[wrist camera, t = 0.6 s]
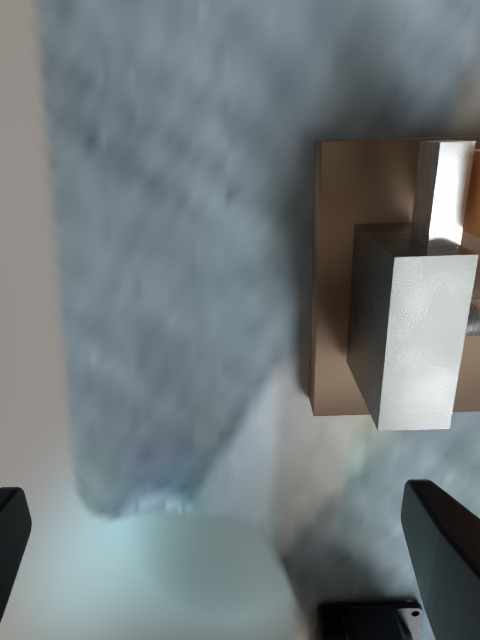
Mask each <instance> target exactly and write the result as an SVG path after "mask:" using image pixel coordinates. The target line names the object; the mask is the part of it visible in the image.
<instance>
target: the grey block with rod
mask: <svg viewBox="0 0 480 640" xmlns="http://www.w3.org/2000/svg"><path fill="white" fill-rule="evenodd" d="M475 143H476V141H463V140H438V141H420V148H419V158H418V167H417V176H416V186H415V195H414V204H413V214H412V222H402V223H374V224H355V225H354V242H353V258H352V275H351V292H350V308H349V325H348V342H347V358H346V362H347V364H348V366H349V369H350V371H351V373H352V375H353V377H354V380H355V382H356V384H357V386H358V388H359V390H360V393H361V395H362V397H363V399H364V401H365V404H366V406H367V408H368V410H369V412H370V415H371V417H372V419H373V421H374V423H375V426H376V428H377V430H378V431H390V430H424V429H450V423H451V417H452V411H453V405H454V399H455V393H456V387H457V381H458V375H459V369H460V363H461V357H462V351H463V345H464V339H465V336H480V297H472V292H473V286H474V280H475V274H476V268H477V262H478V256H479V254H477V253H475V252H473V251H471V250H469V249H467V248H465V247H464V246H462V245H460V243H461V236H462V229H463V223H464V216H465V210H466V203H467V196H468V190H469V183H470V176H471V170H472V163H473V156H474V150H475Z"/></svg>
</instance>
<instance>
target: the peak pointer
mask: <svg viewBox="0 0 480 640" xmlns="http://www.w3.org/2000/svg"><path fill="white" fill-rule="evenodd" d="M462 231H464V232H466V233H469V234H471V235H473V236H475V237H477V238H480V149H475V150H474V156H473V163H472V170H471V176H470V183H469V190H468V196H467V203H466V210H465V216H464V223H463V229H462Z"/></svg>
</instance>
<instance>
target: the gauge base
mask: <svg viewBox="0 0 480 640" xmlns="http://www.w3.org/2000/svg"><path fill="white" fill-rule="evenodd" d="M438 140H463V141H476V143H475V149H480V135H471V136H445V137H419V138H392V139H366V140H340V141H316V163H315V202H314V240H313V278H312V317H311V355H310V394H309V399H310V403H311V407H312V411H313V415H314V416H335V415H369V414H370V412H369V410H368V408H367V406H366V404H365V401H364V399H363V397H362V395H361V393H360V390H359V388H358V386H357V384H356V382H355V380H354V377H353V375H352V373H351V371H350V369H349V366H348V364H347V362H346V358H347V342H348V325H349V308H350V292H351V275H352V258H353V242H354V225H355V224H374V223H402V222H412V214H413V204H414V195H415V186H416V176H417V167H418V158H419V148H420V141H438ZM460 245H462V246H464V247H465V248H467V249H469V250H471V251H473V252H475V253H477V254H479V256H478V262H477V268H476V274H475V280H474V286H473V292H472V297H480V238H477V237H475V236H473V235H471V234H469V233H466V232H464V231H462V236H461V243H460ZM471 411H480V336H465V339H464V345H463V351H462V357H461V363H460V369H459V375H458V381H457V387H456V393H455V399H454V405H453V411H452V412H471Z"/></svg>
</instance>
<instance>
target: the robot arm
mask: <svg viewBox="0 0 480 640" xmlns="http://www.w3.org/2000/svg"><path fill="white" fill-rule="evenodd" d="M401 522H402V527H403V531H404V535H405V539H406V542H407V546H408V550H409V554H410V557H411V561H412V565H413V568H414V572H415V576H416V580H417V583H418V587H419V591H420V595H421V598H422V602H423V605H424V608H425V612H426V614H427V617H428V620H429V623H430V626H431V628H432V631H433V634H434V636H435V639H436V640H480V519H479V518H478V517H477V516H476V515H474V514H473V513H472V512H470V511H469V510H468V509H467V508H465V507H464V506H463V505H462V504H460V503H459V502H458V501H456V500H455V499H454V498H453V497H451V496H450V495H449V494H447V493H446V492H445V491H444V490H442V489H441V488H440V487H439V486H437V485H436V484H435V483H433V482H432V481H430V480H427V479H411V480H408V481H407V482H406V484H405V488H404V495H403V502H402V509H401ZM31 526H32V521H31V516H30V512H29V508H28V505H27V501H26V497H25V493H24V491H23V490H22V489H21V488H19V487H2V488H0V622H1V619H2V617H3V614H4V611H5V608H6V606H7V603H8V600H9V597H10V594H11V591H12V588H13V585H14V582H15V579H16V575H17V572H18V569H19V566H20V563H21V560H22V556H23V554H24V551H25V548H26V545H27V542H28V539H29V535H30V532H31ZM423 614H424V613H423V609H422V607H421V605H420V603H417V602H390V603H348V604H322V605H320V606H318V607H317V609H316V632H315V640H419V637H420V631H421V625H422V620H423Z"/></svg>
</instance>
